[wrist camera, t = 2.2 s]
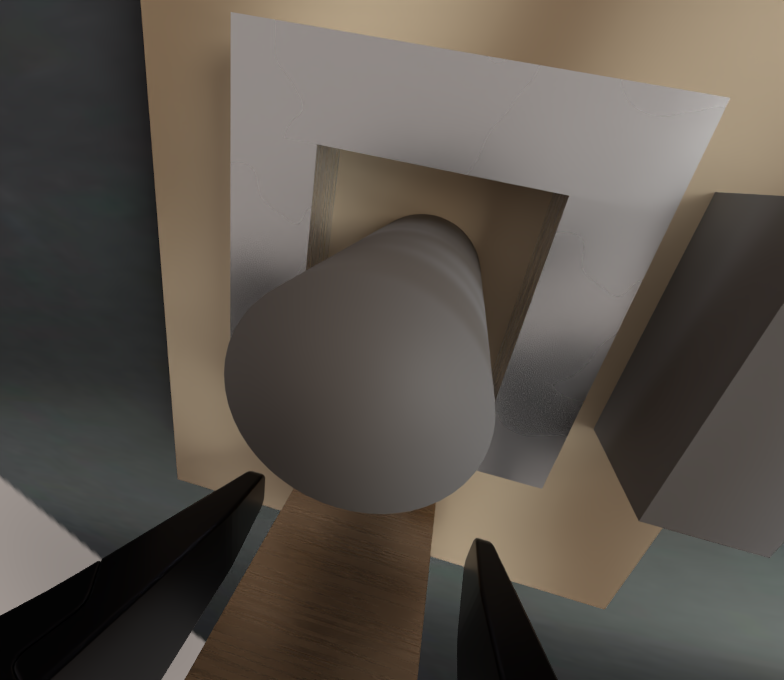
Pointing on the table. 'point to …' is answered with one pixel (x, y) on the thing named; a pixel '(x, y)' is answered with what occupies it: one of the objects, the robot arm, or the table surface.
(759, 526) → the maple peg board
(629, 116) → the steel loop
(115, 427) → the table surface
